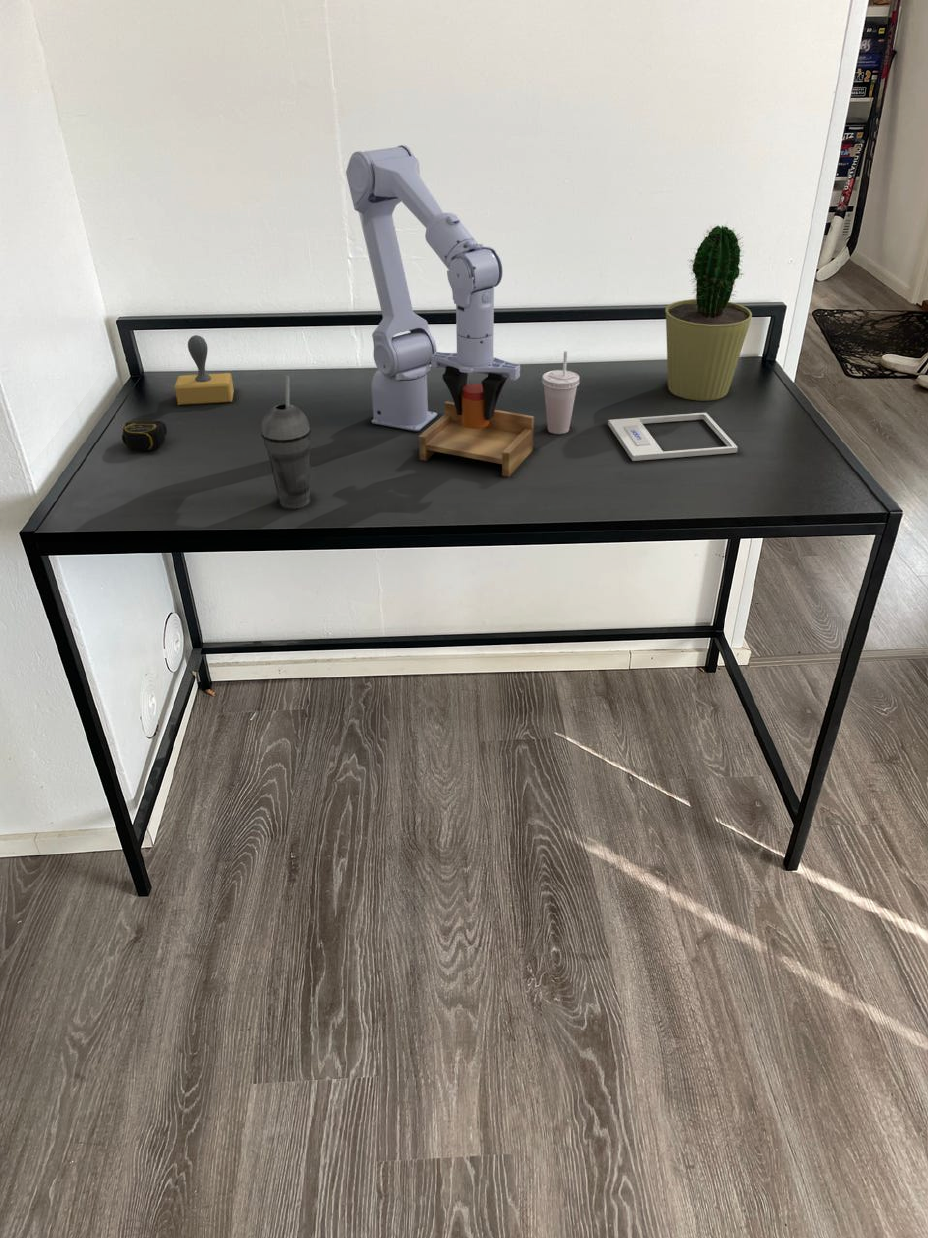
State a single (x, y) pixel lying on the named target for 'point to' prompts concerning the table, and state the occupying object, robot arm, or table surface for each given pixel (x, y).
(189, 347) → the rubber stamp
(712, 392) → the potted cactus
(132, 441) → the tape measure
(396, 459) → the table surface
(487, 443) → the shelf
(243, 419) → the table surface
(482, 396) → the spice bottle
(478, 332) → the robot arm
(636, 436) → the photo frame
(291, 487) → the beverage cup
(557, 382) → the smoothie
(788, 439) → the table surface
